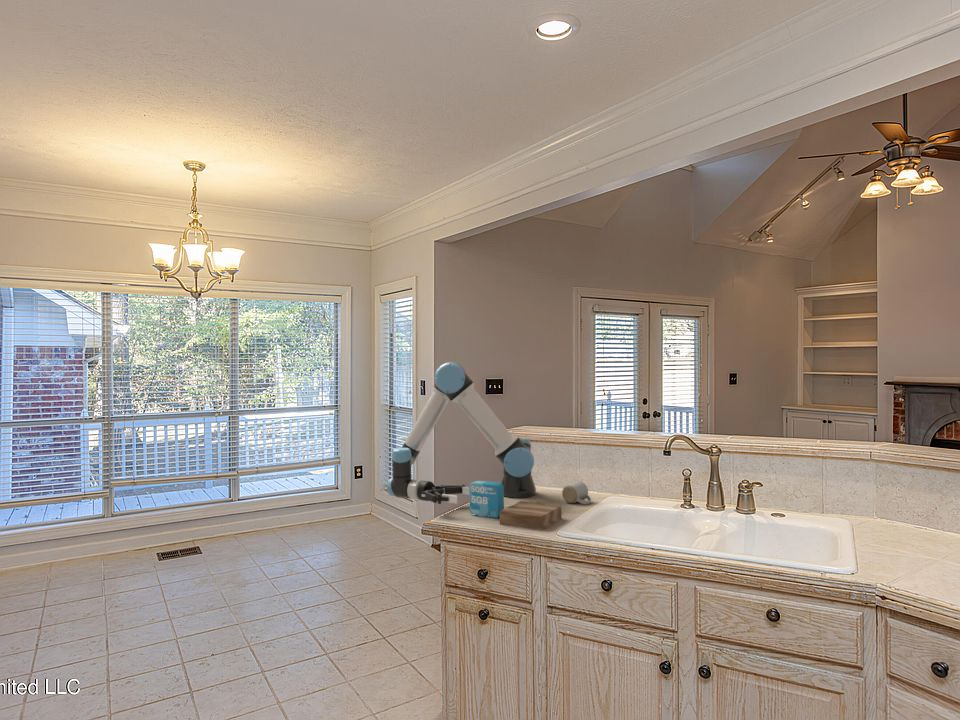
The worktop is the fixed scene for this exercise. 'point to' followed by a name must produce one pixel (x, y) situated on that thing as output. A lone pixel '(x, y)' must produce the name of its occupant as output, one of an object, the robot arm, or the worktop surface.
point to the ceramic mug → (576, 493)
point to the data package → (486, 498)
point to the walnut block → (530, 515)
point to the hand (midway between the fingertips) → (467, 495)
